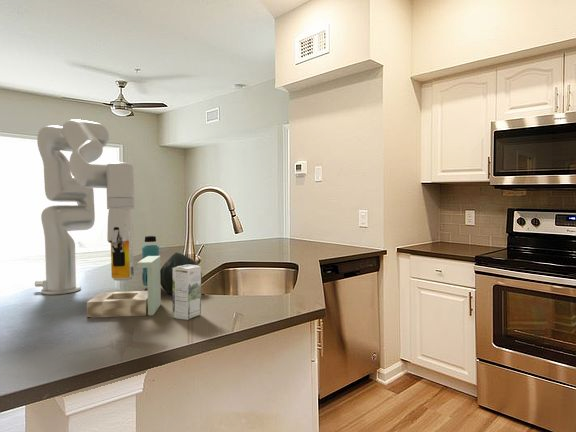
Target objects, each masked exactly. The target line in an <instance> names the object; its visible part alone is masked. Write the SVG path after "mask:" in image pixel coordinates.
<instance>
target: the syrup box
mask: <svg viewBox="0 0 576 432" xmlns="http://www.w3.org/2000/svg"><path fill="white" fill-rule="evenodd" d="M201 273H202V267H201V265H199V266H197V265H183V266H178V267H174V268H173V294H172V318H173V319H179V320H186V321H190V320H192V319H195V318H197V317H199V316H201V314H202V309H201V308H202V280H201Z"/></svg>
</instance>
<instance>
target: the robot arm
mask: <svg viewBox="0 0 576 432" xmlns="http://www.w3.org/2000/svg"><path fill="white" fill-rule="evenodd" d="M36 138H37V139H36V140H37V148H38V151H39V155H40V157H41V159H42V165H43V179H44V180H43V181H44V193H45V196H46V198H47V200H49V201H51V202H59V203H62V202H63V203H64V202H65V203H68V202H69V203H70V202H71V203H74V202H75V203H77V205H69V204H68V205H67V204H65V205H62V204H61V205H51V206H48V207H46V208H44V209H43V211H41V213H40V214H41V217H40V218H41V224H42V229H43V234H44V248H45V279H44V280H35V282H34V286H35V287H36V288H38V287H39V288H40V287H42V289H41V291H40V293H41V294H42V295H48V296H49V295H50V296H51V295H52V296H53V295H55V296H57V295H65V294H71V293H75V292H78V291H80V290H81V288H82V287H81V285H80V284H77V275H76V274H77V273H76V271H77V270H76V269H77V267H76V242H75V240H74V238H73V237H72V236H71V235H70V234H69V232H74V231H87V230H90V229H92V228H93V227H94V224H95V221H96V220H95V218H96V215H95V214H96V213H95V193H94V189H106V210H108V215H107V233H106V234H107V235H106V236H107V242H108V243H109V244H111V243H112V244H113V246H112V247H113V250H112V251H113V266H125V252H123V251H124V242H126V241H127V235H128V231H129V229H131V230H132V232H133V231H134V230H133V229H134V227H133V213H132V210H133V209H134V210H135V183H134V181H135V179H134V176H135V175H134V165H132V164H131V163H129V162H124V161H123V162H121V161H117V162H116V161H115V162H114V161H113V162H109V163H98V162H95V161H97V160H98V159H99V158H100V157H101V156H102V154H103V150H104V147H106V146H107V145H108V143H109V139H110V134H109V130H108V128H107V127H106V126H105V125H103V124H102V123H99V122H94V121H89V120H83V119H82V120H81V119H69V120H66V121H65V122H64V123H63V124H62V126H60V125H46V126H42V127H41V128H40V129H39V130H38V133H37V137H36ZM62 151H63V152H71V154H70V156H69V160H68V158H67V157H66V155H65V154H64V153H63V152H62ZM133 233H134V232H133ZM118 239H121V241H119V242H118ZM111 241H112V242H111ZM120 244H121V247H120Z"/></svg>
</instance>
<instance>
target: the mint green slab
mask: <svg viewBox="0 0 576 432" xmlns="http://www.w3.org/2000/svg"><path fill="white" fill-rule="evenodd" d="M161 259H162V255H159V256H147V257H145V258H144V259H142V258H141V260H139V261H137V262H136V269H137V268H138V269H140V268H141V269H143V268H147V285H148V286H147V291H148V313H147V315H148V316H154V314H155V313H156V312H157V311H158V309H159V307H160V306H161V305H162V301H161V300H162V296H161V295H162V292H161V288H162V286H161V284H160V270H161V261H162V260H161Z"/></svg>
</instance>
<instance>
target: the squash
mask: <svg viewBox="0 0 576 432" xmlns="http://www.w3.org/2000/svg"><path fill="white" fill-rule="evenodd" d="M183 265H197V266H200V265H199V264H198V263H197V262H196V261H195V260H194V259H192V258H191V257H188V256H186V255H185V254H182V253H180V252H175V253H173V254H172V255H171V256H170V257H169V259H168V260H166V262H165V263H164V264H163V266H162V267H160V285H161V288H162V289H163V290H164V292H166V293H168V294H172V295H173V268H174V267H178V266H183ZM202 277H203V273H202V272H201V281H202V279H203V278H202Z"/></svg>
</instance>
